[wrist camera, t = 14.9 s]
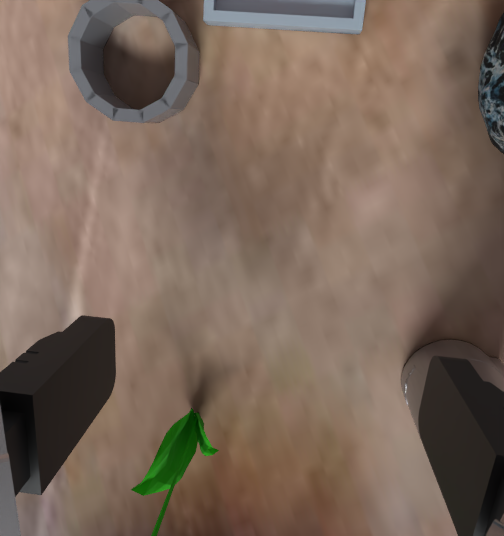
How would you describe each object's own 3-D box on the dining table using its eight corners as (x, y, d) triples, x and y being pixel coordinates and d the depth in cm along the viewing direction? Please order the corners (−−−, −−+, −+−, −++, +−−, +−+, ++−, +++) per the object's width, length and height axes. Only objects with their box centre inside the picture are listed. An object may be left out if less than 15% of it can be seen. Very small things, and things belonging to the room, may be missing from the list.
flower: (228, 379, 50) (133, 721, 21) (239, 441, 52) (167, 824, 24) (153, 385, 51) (-33, 716, 22) (167, 445, 53) (14, 815, 25)
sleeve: (201, 6, 39) (189, -9, 35) (197, 125, 42) (185, 126, 38) (90, -1, 40) (65, -16, 35) (94, 117, 43) (71, 117, 38)
